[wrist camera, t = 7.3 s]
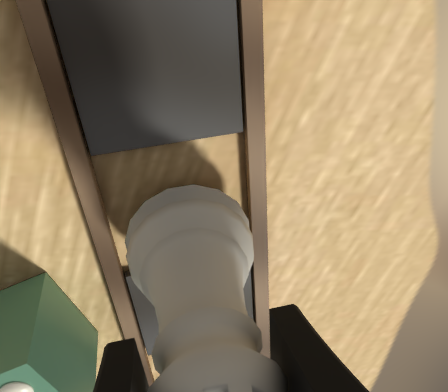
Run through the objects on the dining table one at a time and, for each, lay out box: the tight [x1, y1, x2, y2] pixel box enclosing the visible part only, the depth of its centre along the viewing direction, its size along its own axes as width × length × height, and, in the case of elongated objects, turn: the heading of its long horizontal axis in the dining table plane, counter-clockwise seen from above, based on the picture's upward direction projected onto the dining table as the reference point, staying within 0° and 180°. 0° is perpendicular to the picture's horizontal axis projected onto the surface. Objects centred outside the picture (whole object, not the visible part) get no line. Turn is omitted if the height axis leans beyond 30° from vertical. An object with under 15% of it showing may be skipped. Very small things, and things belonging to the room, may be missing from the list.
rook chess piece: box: [125, 184, 288, 392], centre depth 12 cm, size 4×4×8 cm
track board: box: [15, 0, 270, 387], centre depth 17 cm, size 22×6×1 cm, turn 5°
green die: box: [0, 272, 98, 392], centre depth 16 cm, size 4×4×4 cm
